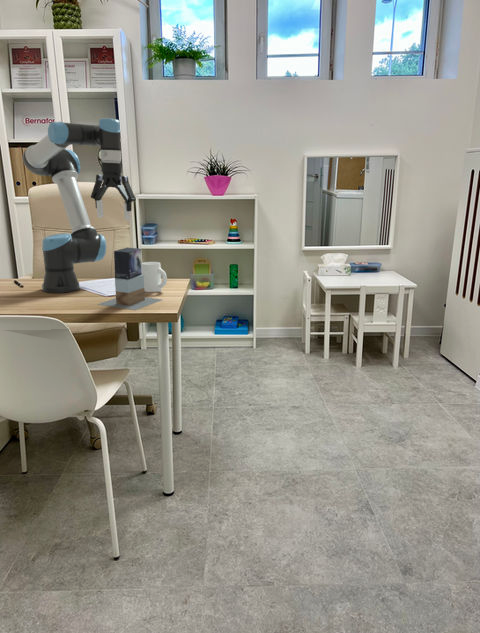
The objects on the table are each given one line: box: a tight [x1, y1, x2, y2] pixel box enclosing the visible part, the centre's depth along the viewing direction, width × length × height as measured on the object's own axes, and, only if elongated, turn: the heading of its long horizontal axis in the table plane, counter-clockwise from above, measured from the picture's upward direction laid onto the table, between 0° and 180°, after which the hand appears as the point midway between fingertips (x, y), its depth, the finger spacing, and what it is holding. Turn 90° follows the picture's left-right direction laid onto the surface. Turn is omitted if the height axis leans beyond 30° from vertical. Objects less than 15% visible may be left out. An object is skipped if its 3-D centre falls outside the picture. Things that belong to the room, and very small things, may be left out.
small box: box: [113, 247, 142, 279], centre depth 183 cm, size 11×6×10 cm, turn 165°
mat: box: [97, 296, 164, 311], centre depth 187 cm, size 18×18×1 cm
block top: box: [114, 275, 144, 293], centre depth 185 cm, size 6×10×5 cm, turn 155°
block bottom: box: [115, 288, 146, 306], centre depth 186 cm, size 6×10×5 cm, turn 155°
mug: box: [141, 261, 168, 293], centre depth 205 cm, size 8×12×12 cm
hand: (113, 218), depth 190 cm, fingers open, 13 cm apart
